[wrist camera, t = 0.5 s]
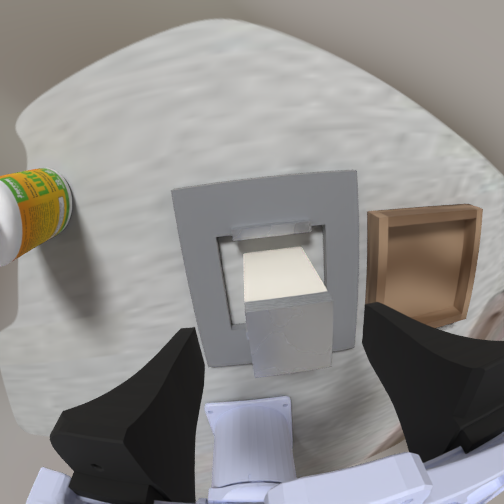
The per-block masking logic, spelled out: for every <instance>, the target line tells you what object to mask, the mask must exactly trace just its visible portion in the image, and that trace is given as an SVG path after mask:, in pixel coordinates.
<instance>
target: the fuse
mask: <svg viewBox="0 0 504 504" xmlns="http://www.w3.org/2000/svg"><path fill="white" fill-rule="evenodd" d="M243 262H244V297H245V316H246V323H247V330H248V337H249V343H250V350H251V357H252V363H253V370H254V376H255V378H257V377H266V376H274V375H282V374H289V373H296V372H303V371H309V370H315V369H321V368H327V367H331V362H332V338H333V299H332V298H331V296H330V294H329V293H328V291H327V289H326V287H325V286H324V284H323V282H322V281H321V279H320V277H319V276H318V274H317V272H316V270H315V269H314V267H313V265H312V264H311V262H310V260H309V259H308V257H307V255H306V254H305V252H304V251H303V249H302V247H301V246H299V247H291V248H282V249H274V250H265V251H257V252H249V253H243Z"/></svg>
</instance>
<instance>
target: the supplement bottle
mask: <svg viewBox="0 0 504 504" xmlns="http://www.w3.org/2000/svg"><path fill="white" fill-rule="evenodd" d="M71 212H72V196H71V192H70V188H69V186H68V184H67V182H66V180H65V179H64V177H63V176H62V175H61V174H60V173H58V172H57V171H55V170H53V169H50V168H39V169H33V170H28V171H23V172H17V173H13V174H8V175H3V176H0V267H1V266H4V265H6V264H8V263H10V262H12V261H14V260H15V259H16V258H18V257H20V256H22V255H23V254H25V253H27V252H28V251H30V250H31V249H33V248H35V247H36V246H38V245H40V244H42V243H43V242H45V241H47V240H49V239H51V238H52V237H54V236H56V235H58V234H59V233H60V232H62V231H63V230H64V228H65V227H66V226H67V224H68V222H69V220H70V216H71Z"/></svg>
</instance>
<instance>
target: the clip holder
mask: <svg viewBox="0 0 504 504" xmlns="http://www.w3.org/2000/svg"><path fill="white" fill-rule="evenodd" d="M171 193H172V199H173V205H174V211H175V217H176V223H177V228H178V234H179V239H180V245H181V250H182V255H183V260H184V265H185V270H186V275H187V280H188V284H189V289H190V294H191V298H192V303H193V307H194V312H195V316H196V320H197V324H198V329H199V333H200V337H201V341H202V345H203V349H204V353H205V357H206V361H207V364H208V367H217V366H229V365H240V364H250V363H252V357H251V350H250V343H249V337H248V330H247V323H244V324H234V325H232V324H231V319H230V313H229V307H228V301H227V295H226V289H225V283H224V277H223V271H222V265H221V258H220V252H219V246H218V239H217V237H220V236H228V235H232V239H233V241H238V240H246V239H254V238H263V237H271V236H280V235H289V234H297V233H306V232H312V227H311V226H315V225H322V226H323V250H324V286H325V287H326V289H327V291H328V293H329V294H330V296H331V298H332V299H333V338H332V352H334V351H340V350H345V349H350V348H354V345H355V333H356V319H357V302H358V277H359V209H358V184H357V171H356V170H341V171H325V172H312V173H300V174H288V175H278V176H268V177H259V178H250V179H241V180H233V181H226V182H218V183H211V184H204V185H197V186H190V187H184V188H177V189H173V190H171Z"/></svg>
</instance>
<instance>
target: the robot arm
mask: <svg viewBox="0 0 504 504" xmlns="http://www.w3.org/2000/svg"><path fill="white" fill-rule="evenodd" d="M362 344H363V346H364V349H365V352H366V354H367V357H368V359H369V361H370V363H371V365H372V367H373V369H374V370H375V372H376V374H377V376H378V377H379V379H380V381H381V383H382V384H383V386H384V388H385V390H386V391H387V393H388V395H389V397H390V399H391V401H392V403H393V405H394V408H395V410H396V413H397V415H398V418H399V421H400V424H401V427H402V430H403V433H404V436H405V439H406V442H407V446H408V449H409V452H404V453H399V454H394V455H390V456H387V457H384V458H381V459H378V460H374V461H371V462H367V463H364V464H360V465H356V466H352V467H348V468H344V469H340V470H335V471H331V472H326V473H321V474H315V475H310V476H304V477H300V478H297V476H296V470H295V464H294V458H293V452H292V449H293V439H292V415H291V399H290V397H289V396H281V397H273V398H265V399H255V400H245V401H232V402H217V403H207V404H205V407H204V409H205V412H206V415H207V418H208V420H209V423H210V426H211V429H212V432H213V434H214V451H213V468H212V486H211V488H209V493H208V500H207V499H206V498H199V499H198V501H196V500H195V436H196V427H197V421H198V415H199V410H200V404H201V399H202V393H203V387H204V373H205V364H204V360H203V357H202V353H201V349H200V345H199V342H198V338H197V334H196V330H195V327H193V328H181V329H180V330H179V331H178V332H177V333H176V334H175V335H174V336H173V337H172V339H171V340H170V341H169V342H168V343H167V344H166V345H165V346H164V347H163V348H162V349H161V351H160V352H159V353H158V354H157V355H156V356H155V357H154V358H153V359H151V360H150V361H149V362H148V363H147V364H146V365H145V366H144V367H143V368H142V369H141V370H140V371H138V372H137V373H136V374H135V375H133V376H132V377H131V378H129V379H128V380H127V381H125V382H124V383H122V384H121V385H119V386H117V387H116V388H114V389H113V390H111V391H109V392H108V393H106V394H104V395H102V396H100V397H98V398H96V399H94V400H92V401H89V402H87V403H85V404H82V405H79V406H77V407H74V408H71V409H68V410H65V411H63V412H62V414H61V415H60V417H59V419H58V421H57V423H56V425H55V427H54V429H53V430H52V432H51V434H50V441H51V444H52V446H53V448H54V449H55V450H56V452H57V453H58V454H59V455H60V457H61V458H62V459H63V460H64V461H65V462H66V463H67V464H68V465H69V466H70V467H71V468H72V469H73V471H74V473H73V476H72V478H71V477H70V476H68V475H66V474H64V473H61V472H58V471H55V470H51V469H48V468H45V467H41V469H40V471H39V473H38V476H37V478H36V480H35V483H34V485H33V487H32V489H31V492H30V494H29V496H28V499H27V501H26V504H486V503H487V502H488V501H490V500H491V499H493V498H494V497H496V496H497V495H498V494H500V493H501V492H502V491H504V341H490V340H480V339H473V338H468V337H463V336H459V335H455V334H451V333H448V332H445V331H442V330H439V329H436V328H433V327H431V326H428V325H426V324H424V323H421V322H419V321H417V320H415V319H413V318H410V317H408V316H406V315H404V314H402V313H400V312H398V311H396V310H394V309H393V308H391V307H388V306H386V305H384V304H382V303H380V302H374V303H368V304H365V311H364V325H363V338H362Z"/></svg>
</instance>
